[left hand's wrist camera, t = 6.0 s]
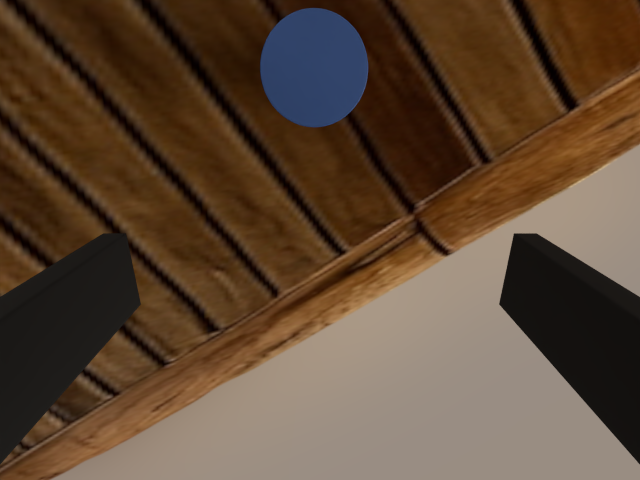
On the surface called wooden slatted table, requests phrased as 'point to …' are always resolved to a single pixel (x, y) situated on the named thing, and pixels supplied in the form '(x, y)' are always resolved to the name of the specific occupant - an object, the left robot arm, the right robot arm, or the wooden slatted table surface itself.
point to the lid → (314, 67)
